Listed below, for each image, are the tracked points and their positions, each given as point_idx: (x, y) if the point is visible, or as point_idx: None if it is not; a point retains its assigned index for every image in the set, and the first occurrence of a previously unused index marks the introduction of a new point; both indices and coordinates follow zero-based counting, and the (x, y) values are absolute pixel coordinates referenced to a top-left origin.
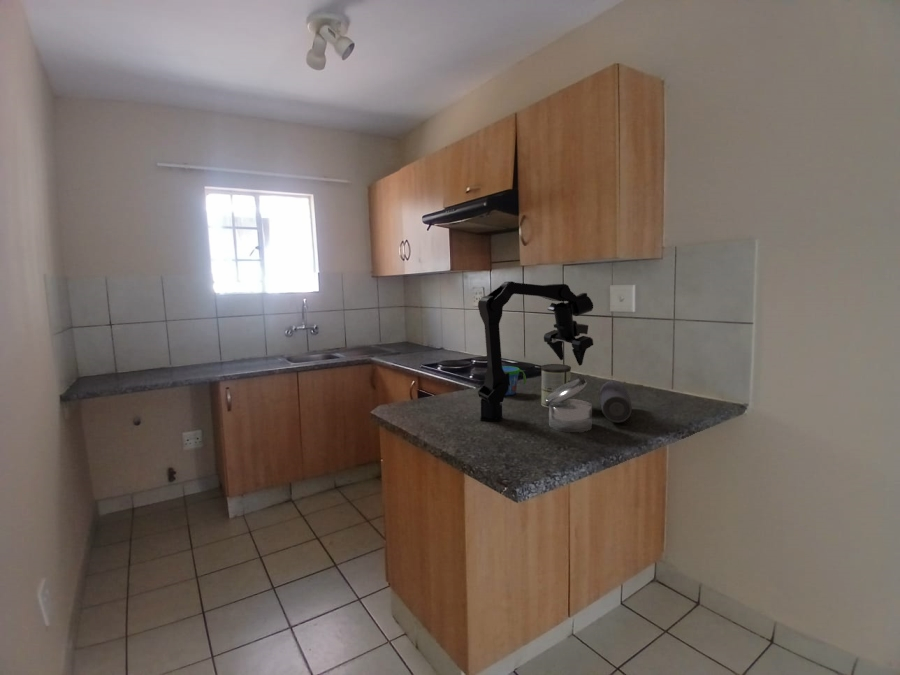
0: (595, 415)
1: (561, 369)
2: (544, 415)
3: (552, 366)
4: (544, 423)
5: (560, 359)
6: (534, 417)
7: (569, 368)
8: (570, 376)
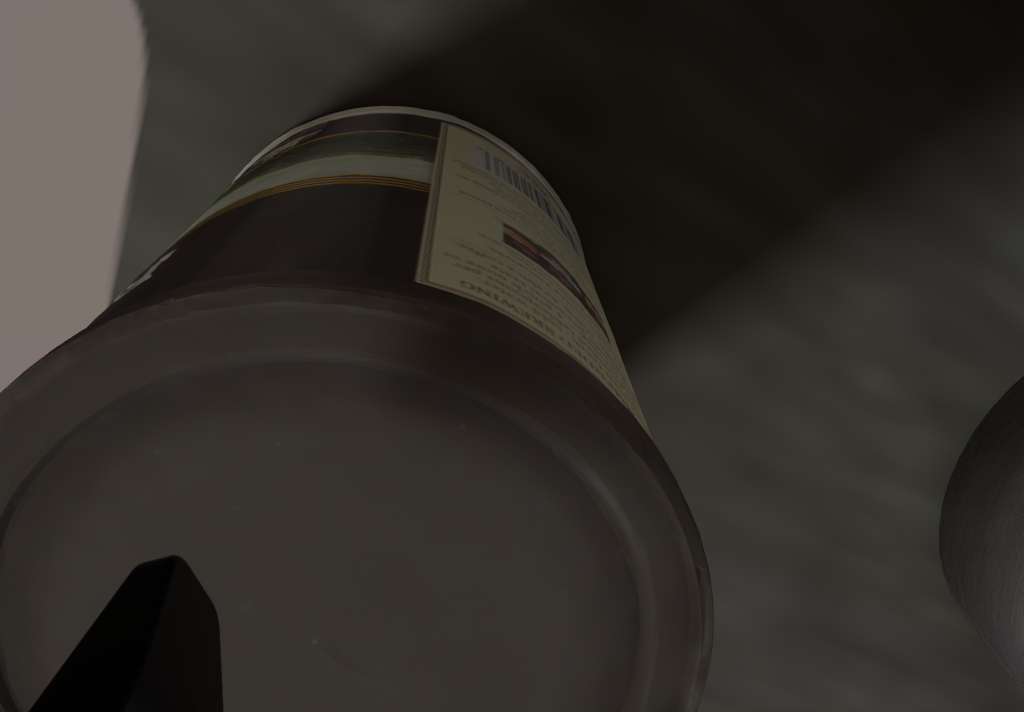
0: (1000, 38)
1: (702, 680)
2: (743, 583)
3: (230, 698)
4: (966, 673)
5: (209, 657)
6: (764, 687)
7: (657, 453)
8: (511, 267)
